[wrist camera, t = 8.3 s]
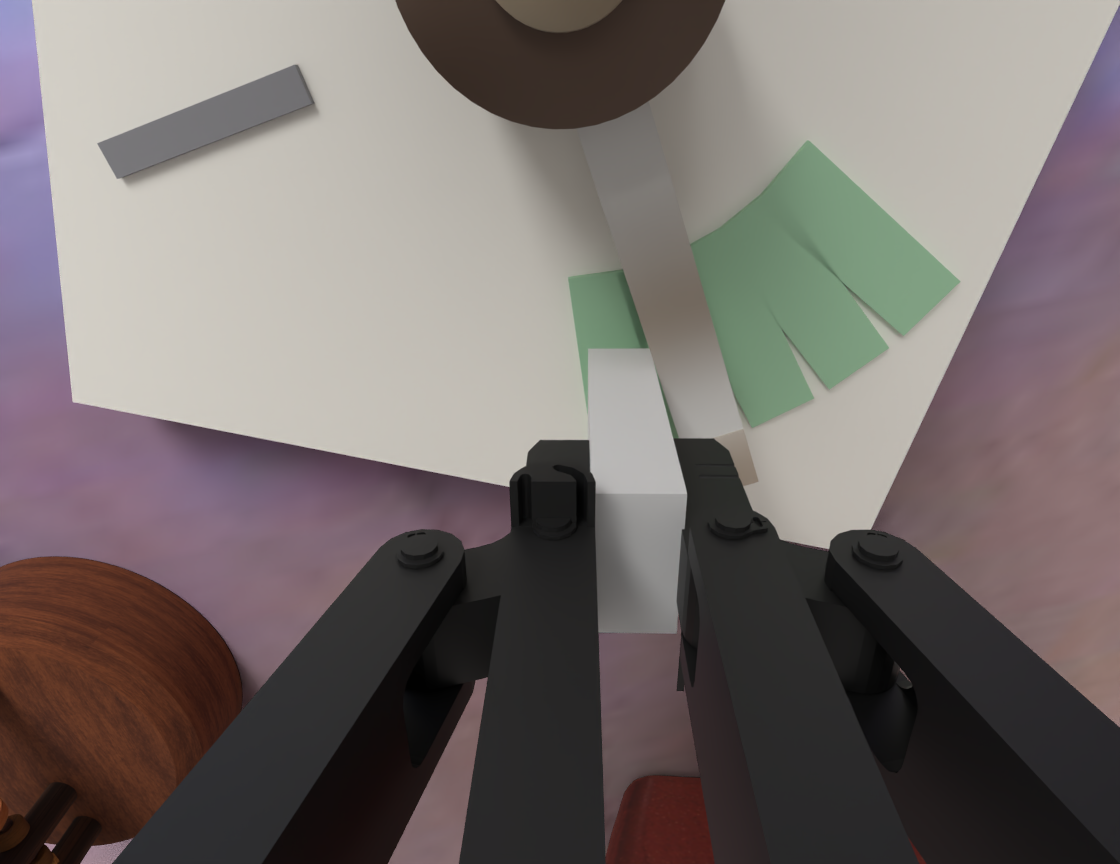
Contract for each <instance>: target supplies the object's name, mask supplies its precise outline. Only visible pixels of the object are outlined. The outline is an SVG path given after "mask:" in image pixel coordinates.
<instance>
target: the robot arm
mask: <svg viewBox="0 0 1120 864" xmlns="http://www.w3.org/2000/svg"><path fill="white" fill-rule="evenodd" d="M509 486H510V507H511V533H509V534H508V535H507V536H505V537H504V538H502V539H500V540H498V541H496V542H494V543H492V544H488V545H484V546H481V547H476V548H471V549H466V550H464V548H463V545H462V542H461V541H460V540H459V539H458V538H456V537H455V536H454V535H453V534H450V533H447V532H444V531H440V530H425V529H421V530H416V531H410V532H405V533H403V534H401V535H398V536H396V537H394V538H391V539H390V540H389V541H387V542H386V543H385V544H384V545H383V546H381V547H380V548H379V549H378V551H377V552H376V553H375V554H374V555H373V556H372V558H371V559H370V560H369V561H368V562H367V564H366V565H365V566H364V567H363V568H362V569H361V571H360V572H359V573H358V574H357V575H356V577H355V578H354V579H353V580H352V581H351V582H350V584H349V585H348V586H347V587H346V588H345V590H344V591H343V592H342V593H341V594H340V595H339V597H338V598H337V599H336V600H335V601H334V603H333V604H332V605H331V606H330V607H329V608H328V610H327V611H326V612H325V613H324V614H323V615H322V617H321V618H320V619H319V620H318V621H317V623H316V624H315V625H314V626H313V627H312V628H311V630H310V631H309V632H308V633H307V634H306V636H305V637H304V638H303V639H302V640H301V641H300V643H299V644H298V645H297V646H296V647H295V649H294V650H293V651H292V652H291V653H290V654H289V656H288V657H287V658H286V659H285V660H284V662H283V663H282V664H281V665H280V666H279V667H278V669H277V670H276V671H275V672H274V673H273V674H272V676H271V677H270V678H269V679H268V680H267V682H266V683H265V684H264V685H263V686H262V687H261V689H260V690H259V691H258V692H257V693H256V695H255V696H254V697H253V698H252V699H251V700H250V702H249V703H248V704H247V705H246V706H245V708H244V709H243V710H242V711H241V712H240V713H239V715H238V716H237V717H236V718H235V719H234V721H233V722H232V723H231V724H230V725H229V726H228V728H227V729H226V730H225V731H224V732H223V733H222V735H221V736H220V737H219V738H218V739H217V741H216V742H215V743H214V744H213V745H212V746H211V748H210V749H209V750H208V751H207V752H206V754H205V755H204V756H203V757H202V758H201V759H200V761H199V762H198V763H197V764H196V765H195V767H194V768H193V769H192V770H191V771H190V772H189V774H188V775H187V776H186V777H185V778H184V779H183V781H182V782H181V783H180V784H179V785H178V787H177V788H176V789H175V790H174V791H173V792H172V794H171V795H170V796H169V797H168V798H167V800H166V801H165V802H164V803H163V804H162V805H161V807H160V808H159V809H158V810H157V811H156V813H155V814H154V815H153V816H152V817H151V818H150V820H149V821H148V822H147V823H146V824H145V826H144V827H143V828H142V829H141V830H140V831H139V833H138V834H137V835H136V836H135V837H134V838H133V840H132V841H131V842H130V843H129V844H128V846H127V847H126V848H125V849H124V850H123V851H122V853H121V854H120V855H119V856H118V857H117V859H116V860H115V861H114V862H113V863H112V864H388V862H389V860H390V858H391V856H392V854H393V852H394V850H395V848H396V846H397V844H398V842H399V840H400V838H401V836H402V834H403V832H404V830H405V828H406V826H407V824H408V822H409V820H410V818H411V816H412V814H413V812H414V810H415V808H416V806H417V804H418V802H419V800H420V798H421V796H422V794H423V792H424V790H425V788H426V786H427V784H428V782H429V780H430V778H431V776H432V774H433V772H434V770H435V768H436V766H437V764H438V761H439V759H440V757H441V755H442V753H443V751H444V749H445V747H446V745H447V743H448V741H449V739H450V737H451V735H452V733H453V731H454V729H455V727H456V725H457V723H458V721H459V719H460V717H461V715H462V713H463V711H464V709H465V707H466V705H467V703H468V701H469V699H470V697H471V695H472V693H473V689H474V685H475V680H478V679H482V678H486V677H488V681H487V687H486V693H485V700H484V706H483V713H482V719H481V726H480V732H479V738H478V745H477V751H476V758H475V764H474V771H473V777H472V783H471V790H470V796H469V803H468V809H467V815H466V822H465V828H464V835H463V841H462V848H461V854H460V860H459V864H606V861H605V829H604V797H603V764H602V732H601V700H600V668H599V635H598V633H662V634H677V621H678V613H679V619H680V624H681V630H682V632H681V644H680V657H679V669H678V681H677V691H684V685H685V690H686V696H687V702H688V708H689V714H690V720H691V726H692V732H693V738H694V744H695V750H696V756H697V761H698V767H699V773H700V779H701V785H702V791H703V797H704V803H705V809H706V815H707V821H708V826H709V832H710V838H711V844H712V850H713V856H714V862H715V864H919V862H918V859H917V857H916V855H915V852H914V850H913V848H912V845H911V843H910V841H911V842H912V843H913V845H914V846H915V848H916V849H917V851H918V852H919V854H920V855H921V856H922V858H923V859H924V861H925V862H926V864H1120V728H1119V727H1118V726H1117V725H1116V724H1115V723H1114V722H1113V721H1112V720H1110V719H1109V718H1108V717H1107V716H1106V715H1105V714H1104V713H1102V712H1101V711H1100V710H1099V709H1098V708H1097V707H1096V706H1095V705H1093V704H1092V703H1091V702H1090V701H1089V700H1088V699H1087V698H1085V697H1084V696H1083V695H1082V694H1081V693H1080V692H1079V691H1078V690H1076V689H1075V688H1074V687H1073V686H1072V685H1071V684H1070V683H1068V682H1067V681H1066V680H1065V679H1064V678H1063V677H1062V676H1060V675H1059V674H1058V673H1057V672H1056V671H1055V670H1054V669H1053V668H1051V667H1050V666H1049V665H1048V664H1047V663H1046V662H1045V661H1043V660H1042V659H1041V658H1040V657H1039V656H1038V655H1037V654H1036V653H1034V652H1033V651H1032V650H1031V649H1030V648H1029V647H1028V646H1026V645H1025V644H1024V643H1023V642H1022V641H1021V640H1020V639H1019V638H1017V637H1016V636H1015V635H1014V634H1013V633H1012V632H1011V631H1009V630H1008V629H1007V628H1006V627H1005V626H1004V625H1003V624H1002V623H1000V622H999V621H998V620H997V619H996V618H995V617H994V616H992V615H991V614H990V613H989V612H988V611H987V610H986V609H985V608H983V607H982V606H981V605H980V604H979V603H978V602H977V601H975V600H974V599H973V598H972V597H971V596H970V595H969V594H968V593H966V592H965V591H964V590H963V589H962V588H961V587H960V586H958V585H957V584H956V583H955V582H954V581H953V580H952V579H951V578H949V577H948V576H947V575H946V574H945V573H944V572H943V571H941V570H940V569H939V568H938V567H937V566H936V565H935V564H934V563H932V562H931V561H930V560H929V559H928V558H927V557H926V556H924V555H923V554H922V553H921V552H920V551H919V550H918V549H916V548H915V547H913V546H912V545H910V544H909V543H907V542H906V541H904V540H903V539H900V538H898V537H895V536H893V535H890V534H888V533H885V532H881V531H875V530H849V531H846V532H843V533H839V534H837V535H836V536H835V537H834V538H833V539H832V540H831V541H830V547H829V552H827V551H822V550H817V549H812V548H807V547H802V546H798V545H794V544H791V543H788V542H785V541H783V540H781V539H780V538H779V536H778V534H777V531H776V529H775V527H774V526H773V525H772V523H771V522H770V521H769V519H767V518H766V517H764V516H763V515H761V514H759V513H758V512H756V511H753V510H752V507H751V505H750V502H749V500H748V497H747V495H746V492H745V490H744V487H743V485H742V482H741V480H740V478H739V474H738V472H737V469H736V467H734V462H733V459H732V457H731V454H730V452H729V450H728V449H726V448H725V447H724V446H723V445H721V444H720V443H719V442H718V441H716V440H715V439H714V438H673V436H672V432H671V428H670V424H669V420H668V416H667V412H666V408H665V405H664V401H663V397H662V393H661V389H660V385H659V381H658V377H657V373H656V369H655V365H654V361H653V358H652V355H651V352H650V349H649V348H638V349H588V440H539V441H538V442H537V443H536V444H535V445H534V446H533V447H532V448H531V449H530V450H529V451H528V455H527V462H526V466H525V467H523V468H521V469H520V470H518V471H517V472H515V473H514V474H513V476H512V478H511V479H510V481H509ZM900 668H901V669H902V670H903V671H904V672H905V674H906V675H907V677H908V678H909V680H910V681H911V682H910V681H909V680H907V678H906V677H905V676H904V675H903V674H902V673H901V672H900ZM909 839H910V841H909Z"/></svg>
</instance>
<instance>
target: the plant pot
mask: <svg viewBox="0 0 1120 864" xmlns="http://www.w3.org/2000/svg"><path fill="white" fill-rule="evenodd" d="M909 841H910V839H909ZM910 843H911V845H912V848H913V850H914V852H915V855H916V857H917V859H918V862H919V864H926V862H925V861H924V859H923V858H922V856H921V855H920V854H919V852H918V851H917V849H916V848H915V846H914V845H913V843H912V842H911V841H910ZM605 861H606V864H715V862H714V856H713V850H712V844H711V838H710V832H709V826H708V821H707V815H706V809H705V803H704V797H703V791H702V785H701V779H700V778H692V777H674V776H659V775H653V776H646V777H642V778H639V779H637V780H635V781H633V782H632V783H631V784H630V786H629V787H628V788H627V790H626V791H625V793H624V796H623V799H622V802H621V805H620V808H619V812H618V815H617V818H616V821H615V824H614V827H613V831H612V834H611V838H610V842H609V846H608V849H607V853H606V857H605Z"/></svg>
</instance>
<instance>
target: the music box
mask: <svg viewBox="0 0 1120 864" xmlns="http://www.w3.org/2000/svg"><path fill="white" fill-rule="evenodd" d="M241 706H242V685H241V680H240V675H239V672H238V669H237V666H236V663H235V661H234V659H233V657H232V655H231V653H230V651H229V649H228V647H227V646H226V644H225V643H224V641H223V640H222V638H221V637H220V635H219V634H218V633H217V632H216V630H215V629H214V628H213V627H212V626H211V625H210V624H209V622H208V621H207V620H206V619H205V618H204V617H203V616H202V615H201V614H199V613H198V612H197V611H196V610H195V609H194V608H193V607H191V606H190V605H189V604H188V603H187V602H185V601H184V600H182V599H181V598H180V597H178V596H177V595H175V594H174V593H172V592H171V591H169V590H168V589H166V588H164V587H163V586H161V585H159V584H157V583H155V582H153V581H151V580H149V579H147V578H145V577H143V576H141V575H139V574H136V573H134V572H131V571H129V570H126V569H123V568H120V567H117V566H114V565H110V564H107V563H103V562H98V561H94V560H88V559H82V558H73V557H38V558H31V559H25V560H21V561H17V562H13V563H10V564H7V565H4V566H2V567H0V864H80V863H81V861H82V860H83V858H84V857H85V855H86V854H87V852H88V851H89V849H90V847H91V846H97V845H105V844H112V843H116V842H120V841H124V840H128V839H131V838H134V837H135V836H136V835H137V834H138V833H139V831H140V830H141V829H142V828H143V827H144V826H145V824H146V823H147V822H148V821H149V820H150V818H151V817H152V816H153V815H154V814H155V813H156V811H157V810H158V809H159V808H160V807H161V805H162V804H163V803H164V802H165V801H166V800H167V798H168V797H169V796H170V795H171V794H172V792H173V791H174V790H175V789H176V788H177V787H178V785H179V784H180V783H181V782H182V781H183V779H184V778H185V777H186V776H187V775H188V774H189V772H190V771H191V770H192V769H193V768H194V767H195V765H196V764H197V763H198V762H199V761H200V759H201V758H202V757H203V756H204V755H205V754H206V752H207V751H208V750H209V749H210V748H211V746H212V745H213V744H214V743H215V742H216V741H217V739H218V738H219V737H220V736H221V735H222V733H223V732H224V731H225V730H226V729H227V728H228V726H229V725H230V724H231V723H232V722H233V721H234V719H235V718H236V717H237V716H238V715H239V713H240V711H241ZM44 843H49V844H56V846H55V847H54V849H53V850H52V852H51V851H50V850H49V848H48V847H47V846H46V845H44Z"/></svg>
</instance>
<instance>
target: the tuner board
mask: <svg viewBox="0 0 1120 864" xmlns="http://www.w3.org/2000/svg"><path fill="white" fill-rule="evenodd" d="M1119 5H1120V0H725V3H724V5H723V7H722V10H721V12H720V15H719V17H718V19H717V21H716V23H715V25H714V27H713V29H712V30H711V32H710V34H709V36H708V38H707V39H706V41H705V43H704V44H703V46H702V47H701V49H700V50H699V51H698V53H697V54H696V56H695V57H694V58H693V60H692V61H691V63H690V64H689V65H688V66H687V67H686V68H685V69H684V70H683V71H682V73H681V74H680V75H679V76H678V77H677V78H676V79H675V80H674V81H673V82H672V83H671V84H670V85H669V86H667V87H666V88H665V89H664V90H663V91H661V92H660V93H659V94H658V95H657V96H656V97H654V98H653V99H651V100H650V101H649V104H650V107H651V111H652V114H653V118H654V121H655V125H656V128H657V132H658V135H659V139H660V142H661V146H662V149H663V152H664V156H665V159H666V163H667V166H668V170H669V173H670V177H671V180H672V184H673V187H674V191H675V194H676V197H677V201H678V204H679V208H680V211H681V215H682V218H683V222H684V225H685V229H686V232H687V236H688V239H689V243H690V246H691V249H692V253H693V256H694V260H695V263H696V267H697V270H698V274H699V277H700V281H701V284H702V288H703V291H704V294H705V298H706V301H707V305H708V308H709V312H710V315H711V319H712V322H713V326H714V329H715V333H716V336H717V340H718V343H719V346H720V350H721V353H722V357H723V360H724V364H725V367H726V371H727V374H728V378H729V381H730V385H731V388H732V391H733V395H734V398H735V402H736V405H737V409H738V412H739V416H740V419H741V423H742V426H743V429H744V433H745V436H746V439H747V443H748V446H749V450H750V453H751V457H752V460H753V464H754V467H755V471H756V474H757V478H758V481H759V482H756V483H753V484H749V485H746V486H743V487H744V490H745V492H746V495H747V497H748V500H749V502H750V505H751V507H752V510H753V511H756V512H758V513H759V514H761V515H763V516H764V517H766V518H767V519H769V521H770V522H771V523H772V525H773V526H774V527H775V529H776V531H777V534H778V536H779V538H780V539H781V540H784V541H790V542H795V543H800V544H805V545H810V546H815V547H820V548H826V549H829V547H830V541H831V540H832V539H833V538H834V537H835V536H836V535H837V534H839V533H843V532H846V531H849V530H871V528H872V526H873V524H874V522H875V519H876V517H877V515H878V513H879V511H880V509H881V507H882V505H883V503H884V501H885V498H886V496H887V494H888V492H889V490H890V488H891V486H892V484H893V482H894V479H895V477H896V475H897V473H898V471H899V469H900V467H901V465H902V463H903V460H904V458H905V456H906V454H907V452H908V450H909V448H910V446H911V444H912V441H913V439H914V437H915V435H916V433H917V431H918V429H919V427H920V425H921V422H922V420H923V418H924V416H925V414H926V412H927V410H928V408H929V406H930V403H931V401H932V399H933V397H934V395H935V393H936V391H937V389H938V387H939V384H940V382H941V380H942V378H943V376H944V374H945V372H946V370H947V368H948V365H949V363H950V361H951V359H952V357H953V355H954V353H955V351H956V349H957V347H958V344H959V342H960V340H961V338H962V336H963V334H964V332H965V330H966V328H967V325H968V323H969V321H970V319H971V317H972V315H973V313H974V311H975V309H976V306H977V304H978V302H979V300H980V298H981V296H982V294H983V292H984V290H985V287H986V285H987V283H988V281H989V279H990V277H991V275H992V273H993V271H994V268H995V266H996V264H997V262H998V260H999V258H1000V256H1001V254H1002V252H1003V249H1004V247H1005V245H1006V243H1007V241H1008V239H1009V237H1010V235H1011V233H1012V230H1013V228H1014V226H1015V224H1016V222H1017V220H1018V218H1019V216H1020V214H1021V211H1022V209H1023V207H1024V205H1025V203H1026V201H1027V199H1028V197H1029V195H1030V192H1031V190H1032V188H1033V186H1034V184H1035V182H1036V180H1037V178H1038V176H1039V174H1040V171H1041V169H1042V167H1043V165H1044V163H1045V161H1046V159H1047V157H1048V155H1049V152H1050V150H1051V148H1052V146H1053V144H1054V142H1055V140H1056V138H1057V136H1058V133H1059V131H1060V129H1061V127H1062V125H1063V123H1064V121H1065V119H1066V117H1067V114H1068V112H1069V110H1070V108H1071V106H1072V104H1073V102H1074V100H1075V98H1076V95H1077V93H1078V91H1079V89H1080V87H1081V85H1082V83H1083V81H1084V79H1085V76H1086V74H1087V72H1088V70H1089V68H1090V66H1091V64H1092V62H1093V60H1094V57H1095V55H1096V53H1097V51H1098V49H1099V47H1100V45H1101V43H1102V41H1103V38H1104V36H1105V34H1106V32H1107V30H1108V28H1109V26H1110V24H1111V22H1112V20H1113V17H1114V15H1115V13H1116V11H1117V9H1118V7H1119ZM32 6H33V16H34V26H35V36H36V45H37V55H38V65H39V75H40V85H41V95H42V104H43V114H44V124H45V134H46V144H47V154H48V163H49V173H50V183H51V193H52V203H53V213H54V222H55V232H56V242H57V252H58V262H59V272H60V281H61V291H62V301H63V311H64V321H65V331H66V341H67V350H68V360H69V370H70V380H71V390H72V400H73V402H76V403H81V404H86V405H92V406H97V407H102V408H107V409H112V410H117V411H122V412H128V413H133V414H138V415H143V416H148V417H153V418H158V419H163V420H169V421H174V422H179V423H184V424H189V425H194V426H199V427H205V428H210V429H215V430H220V431H225V432H230V433H235V434H240V435H246V436H251V437H256V438H261V439H266V440H271V441H276V442H281V443H287V444H292V445H297V446H302V447H307V448H312V449H317V450H323V451H328V452H333V453H338V454H343V455H348V456H353V457H358V458H364V459H369V460H374V461H379V462H384V463H389V464H394V465H400V466H405V467H410V468H415V469H420V470H425V471H430V472H435V473H441V474H446V475H451V476H456V477H461V478H466V479H471V480H477V481H482V482H487V483H492V484H497V485H502V486H507V487H510V486H509V481H510V479H511V478H512V476H513V474H514V473H515V472H517V471H518V470H520V469H521V468H523V467H525V466H526V462H527V455H528V451H529V450H530V449H531V448H532V447H533V446H534V445H535V444H536V443H537V442H538V441H539V440H588V349H638V348H649V346H648V343H647V340H646V337H645V334H644V331H643V328H642V325H641V322H640V319H639V316H638V313H637V310H636V307H635V304H634V301H633V298H632V295H631V292H630V289H629V286H628V283H627V280H626V277H625V274H624V271H623V268H622V265H621V262H620V259H619V256H618V253H617V250H616V247H615V244H614V241H613V238H612V235H611V232H610V229H609V226H608V223H607V220H606V217H605V214H604V211H603V208H602V205H601V202H600V199H599V196H598V193H597V190H596V187H595V184H594V181H593V178H592V175H591V172H590V169H589V166H588V163H587V160H586V157H585V154H584V151H583V148H582V145H581V142H580V139H579V136H578V133H577V130H576V129H545V128H537V127H530V126H526V125H523V124H519V123H515V122H511V121H509V120H506V119H504V118H501V117H499V116H497V115H494V114H492V113H490V112H488V111H486V110H485V109H483V108H481V107H480V106H478V105H476V104H474V103H473V102H471V101H470V100H469V99H467V98H466V97H465V96H463V95H462V94H461V93H460V92H458V91H457V90H456V89H454V88H453V87H452V86H451V85H450V84H449V83H448V82H447V81H446V80H445V79H444V78H443V77H442V76H441V75H440V74H439V73H438V72H437V71H436V70H435V68H434V67H433V66H432V64H431V63H430V62H429V61H428V59H427V58H426V57H425V56H424V54H423V53H422V52H421V50H420V48H419V47H418V45H417V44H416V42H415V40H414V39H413V37H412V35H411V34H410V32H409V30H408V28H407V26H406V24H405V22H404V20H403V18H402V16H401V13H400V11H399V9H398V7H397V4H396V1H395V0H32ZM654 365H655V364H654ZM655 369H656V367H655ZM656 373H657V370H656ZM657 377H658V381H659V385H660V389H661V393H662V397H663V401H664V405H665V408H666V412H667V416H668V420H669V424H670V428H671V432H672V436H673V438H679V436H678V433H677V430H676V427H675V424H674V421H673V418H672V415H671V412H670V409H669V406H668V403H667V400H666V397H665V394H664V391H663V388H662V385H661V382H660V379H659V376H658V373H657Z"/></svg>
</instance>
